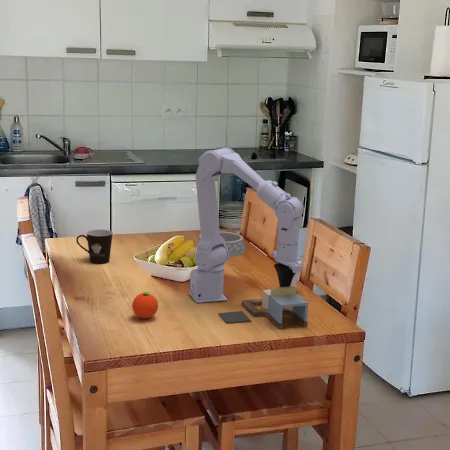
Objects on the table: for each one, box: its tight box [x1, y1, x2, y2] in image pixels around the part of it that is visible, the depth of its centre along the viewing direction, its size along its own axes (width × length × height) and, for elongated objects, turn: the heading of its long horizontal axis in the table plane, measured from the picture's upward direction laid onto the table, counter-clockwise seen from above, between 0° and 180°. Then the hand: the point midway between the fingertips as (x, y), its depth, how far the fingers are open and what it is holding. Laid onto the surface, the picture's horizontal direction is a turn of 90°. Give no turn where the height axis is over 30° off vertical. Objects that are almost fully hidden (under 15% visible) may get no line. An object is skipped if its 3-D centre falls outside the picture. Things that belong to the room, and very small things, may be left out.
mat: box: [218, 310, 252, 325], centre depth 193 cm, size 7×7×1 cm
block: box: [261, 289, 271, 309], centre depth 200 cm, size 4×4×5 cm
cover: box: [268, 286, 309, 324], centre depth 190 cm, size 8×8×7 cm
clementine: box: [131, 291, 159, 319], centre depth 190 cm, size 8×7×7 cm
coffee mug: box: [75, 229, 114, 265], centre depth 237 cm, size 12×9×10 cm
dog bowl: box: [196, 231, 246, 258], centre depth 257 cm, size 17×18×5 cm
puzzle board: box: [241, 298, 308, 330], centre depth 197 cm, size 15×20×1 cm
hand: (284, 289), depth 195 cm, fingers closed
